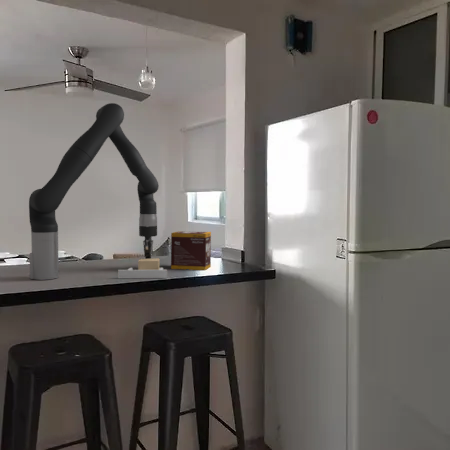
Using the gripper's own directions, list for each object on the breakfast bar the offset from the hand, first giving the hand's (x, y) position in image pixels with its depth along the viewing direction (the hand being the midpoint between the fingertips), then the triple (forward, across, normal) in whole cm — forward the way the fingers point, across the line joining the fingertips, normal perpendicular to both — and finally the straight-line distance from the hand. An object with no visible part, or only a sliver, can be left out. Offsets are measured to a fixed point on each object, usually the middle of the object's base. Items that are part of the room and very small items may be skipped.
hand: (148, 265), depth 189 cm
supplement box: (+2, -3, +18) cm, 19 cm away
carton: (+2, +6, +1) cm, 6 cm away
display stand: (+1, +16, 0) cm, 16 cm away
